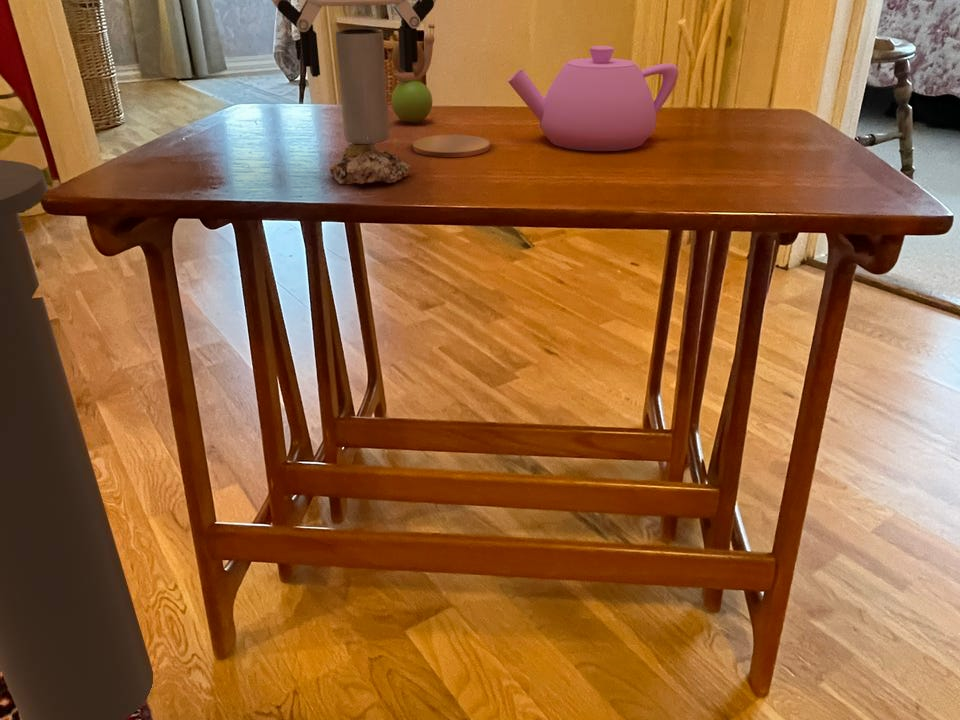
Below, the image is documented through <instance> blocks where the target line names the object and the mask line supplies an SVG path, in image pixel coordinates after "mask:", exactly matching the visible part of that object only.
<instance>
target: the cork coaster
mask: <svg viewBox="0 0 960 720" xmlns="http://www.w3.org/2000/svg"><path fill="white" fill-rule="evenodd" d="M490 148H491V143H490V141H489V140H488V139H486V138H484V137H480V136H475V135H468V134H439V135H431V136H426V137H421V138H418V139H416V140H415V141H413V142H412V149H413V151H414V153H417V154H419V155H423V156H426V157H427V156H428V157H433V158H435V157H436V158H464V157H472V156H473V157H474V156H478V155H481V154H484V153H487V152H488V151H489V150H490Z"/></svg>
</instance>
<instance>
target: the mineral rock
mask: <svg viewBox="0 0 960 720" xmlns="http://www.w3.org/2000/svg"><path fill="white" fill-rule="evenodd" d="M409 169H411V165H410V164H408V163H407V162H404V161H403V159H402V158H401V157H400V156H397V155H396V154H391V153H390V152H389V151H387V150H385V151H381V150H379V149H378V148H377V147H376V144H375V143H374V144H355V143H350V144H348V145H347V147H346V148H345V150H344V151H343V152H342V156H341V158H340V159H339V160H338V162H336V163H334V164H333V165H332V166H331V167H329V173H330V174H331V175H332V179H334V180H335V182H337V183H338V184H340V185H352V184H360V185H364V184H366V185H369V184H372V183H376V182H384V183H387V184H391V183H397V181H400V180H401V179H402V178H406V177H408V175H409Z"/></svg>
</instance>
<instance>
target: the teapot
mask: <svg viewBox="0 0 960 720" xmlns="http://www.w3.org/2000/svg"><path fill="white" fill-rule="evenodd" d="M614 50H615V48H614V47H613V46H610V45H593V46H590V47H589V52H590V56H591V57H587V58H586V57H584V58H576V59H570V60H568V61H566V62H565V63H564V64H563V66H562V67H561V68H560V70H559V71H558V73H557V74H556V76H555V78H554V79H553V81H552V83H551V85H550V86H549V88H548V90H547V92H546V94H545V97H544V96H543V94H542V93H541V92H540V90H539V89H538V88H537V86H536V84H534V83H533V81H532V79H531V77H530V76H529V75H528V73H526V71H525V69H523V68H521V69H520V70H518V71H517V72H516V73H514V74H513V75H512V76H511V77H510V78H509V79H508V80H507V82H508V84H509V85H510V86H511V87H512V89H513V90H514V91H515V93H516V94H517V95H518V96H519V97H520V99H521V100H522V102H523V103H524V104H525V105H526V106H527V108H528V109H529V110H531V113H532V114H533V115H534V116H535V117H536V118H537V120H539V127H540V129H541V131H542V133H543V134H544V135H545V136H546V138H547V139H548V140H549V141H550V143H551V144H553V145H555V146H557V147H561V148H565V149H568V150H569V149H570V150H575V151H584V152H585V151H586V152H617V151H626V150H630V149H632V150H633V149H635V148H639V147H640V146H642V145H643V144H644V143H645V142H646V141H647V140H648V139H649V137H650V136H651V135H652V134H653V133H654V131H655V129H656V125H657V117H656V116H657V114H659V111H660V110H661V109H662V107H663V105H665V103H666V101H667V100H668V98H669V97H670V95H671V93H672V92H673V90H674V88H675V86H676V84H677V81H678V78H679V72H680V71H679V68H678V66H677V65H676V64H674V63H670V62H667V63H659V64H656V65H651V66H647V67H645V68H643V69H641V68H640V66H639V65H638V64H637V63H636V62H635V61H633V60H629V59H622V58H612V56H613V54H614ZM653 75H661V76H662V81H661V85H660V88H659V90H658V93H657V95H656V98H655V99H654V97H653V94H652V92H651V88H650V87H649V84H648V82H647V80H646V78H647V77H650V76H653Z"/></svg>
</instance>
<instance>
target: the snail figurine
mask: <svg viewBox="0 0 960 720" xmlns="http://www.w3.org/2000/svg"><path fill="white" fill-rule="evenodd" d="M427 27H428V29H430V32H429V33H426V34H425V35H424V37H423V42H424V47H422V46H421V44H420V43H418V42H417V53H418V61H417V62H412V64H413V72H412V73H407V72H405V71H404V70H402V69H401V68H400V56H399V42H397V43H396V45H394V48H393V49H392V52H391V62H392V65H393V68H394V69H395V70H396V72H394V73H393V77H394V78H396V79H397V80H398V81H399V82H400V83H398V84H397V85H396V86H395V88H394V89H393V91H392V94H391V99H390V101H391V103H390V104H391V107H392V111H393V112H394V113H395V115H396V116H397V118H399V119H400V120H402V121H403V122H405V123H409V124H410V123H411V124H414V123H420V122H421V121H423V120H425V119H426V118H427V117H428V116H429V114H430V113H431V111H432V107H433V95H432V93H431V91H430V89H429V88H428V86H427V85H426V84H424V83H423V82H421V81H419V80H420V79H421V78H423V77H424V76H425V75H426V74H427V72H428V71H429V68H430V66H431V62H432V59H433V58H432V57H433V52H434V51H433V49H434V43H435V35H434V33H435V31H434V30H435V28H436V25H435V23H434V24H433V23H428V25H427Z"/></svg>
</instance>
